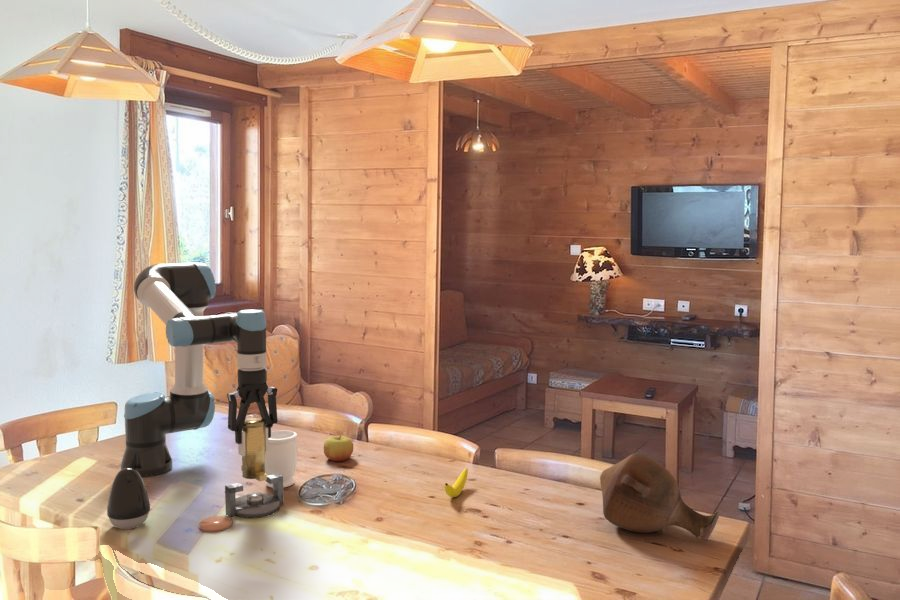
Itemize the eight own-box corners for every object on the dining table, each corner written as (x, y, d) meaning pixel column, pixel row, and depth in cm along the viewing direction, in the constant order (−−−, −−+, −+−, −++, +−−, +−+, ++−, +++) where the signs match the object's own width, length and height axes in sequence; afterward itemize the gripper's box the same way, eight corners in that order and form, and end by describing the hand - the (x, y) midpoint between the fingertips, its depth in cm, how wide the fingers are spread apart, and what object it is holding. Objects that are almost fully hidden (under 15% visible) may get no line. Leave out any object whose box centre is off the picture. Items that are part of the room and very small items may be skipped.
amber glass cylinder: (252, 483, 205) (251, 427, 204) (234, 472, 214) (233, 418, 212) (273, 478, 209) (272, 423, 207) (254, 467, 218) (254, 415, 216)
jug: (581, 528, 200) (696, 577, 185) (589, 463, 193) (710, 508, 178) (612, 491, 216) (721, 532, 201) (621, 429, 209) (734, 468, 194)
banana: (471, 484, 233) (471, 463, 232) (451, 506, 215) (451, 484, 215) (462, 483, 234) (462, 462, 233) (441, 505, 216) (441, 483, 215)
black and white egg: (109, 536, 194) (106, 477, 192) (106, 522, 203) (103, 465, 201) (153, 529, 198) (151, 471, 197) (148, 515, 207) (146, 459, 206)
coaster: (194, 524, 201) (194, 521, 201) (223, 517, 206) (223, 513, 206) (206, 534, 195) (206, 530, 195) (236, 526, 200) (236, 522, 200)
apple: (359, 458, 257) (359, 434, 257) (340, 466, 249) (340, 441, 248) (336, 453, 263) (336, 430, 262) (317, 460, 255) (316, 436, 254)
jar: (289, 491, 226) (288, 440, 225) (256, 488, 228) (255, 438, 227) (303, 479, 237) (302, 430, 235) (271, 476, 239) (270, 428, 237)
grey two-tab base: (217, 509, 212) (217, 480, 211) (269, 496, 222) (269, 468, 221) (239, 523, 202) (238, 493, 201) (292, 509, 212) (291, 480, 211)
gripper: (224, 375, 199) (226, 462, 202) (290, 366, 211) (291, 449, 214) (212, 370, 205) (214, 455, 207) (277, 361, 217) (278, 442, 220)
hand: (253, 452), depth 211 cm, fingers closed on amber glass cylinder, 6 cm apart
